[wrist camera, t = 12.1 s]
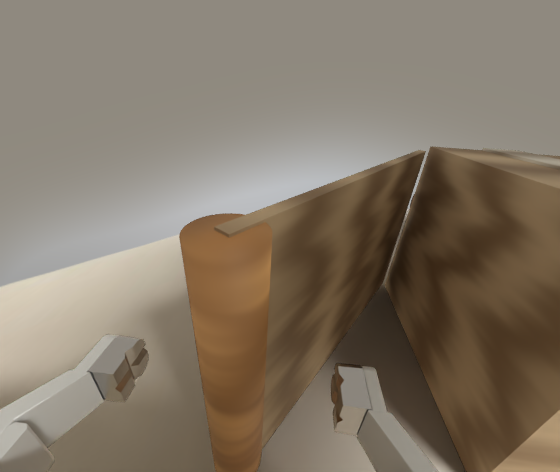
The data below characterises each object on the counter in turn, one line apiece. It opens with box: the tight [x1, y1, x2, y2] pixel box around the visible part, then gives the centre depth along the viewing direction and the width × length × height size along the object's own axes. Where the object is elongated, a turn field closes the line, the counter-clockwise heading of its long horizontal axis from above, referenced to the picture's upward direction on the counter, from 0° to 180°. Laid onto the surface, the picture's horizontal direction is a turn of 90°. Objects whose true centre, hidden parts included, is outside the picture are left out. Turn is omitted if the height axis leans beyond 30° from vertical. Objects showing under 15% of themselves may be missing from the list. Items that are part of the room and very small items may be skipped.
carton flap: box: [180, 150, 426, 472], centre depth 18 cm, size 24×2×15 cm, turn 141°
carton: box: [385, 147, 560, 472], centre depth 18 cm, size 18×12×16 cm, turn 175°
